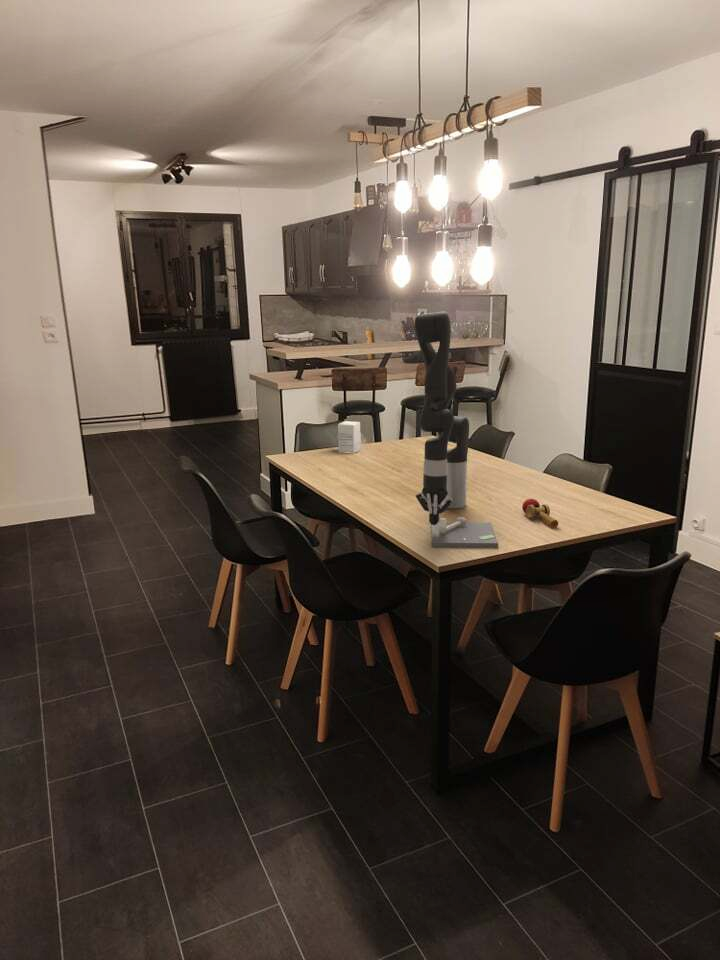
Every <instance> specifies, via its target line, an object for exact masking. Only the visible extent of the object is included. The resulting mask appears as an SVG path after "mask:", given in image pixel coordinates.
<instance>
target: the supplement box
mask: <svg viewBox="0 0 720 960" xmlns="http://www.w3.org/2000/svg"><path fill="white" fill-rule="evenodd" d="M361 433H362V432H361V422H360V421H351V420H349V421H348V420H346V421H345V420H344V421H342V422H340V423H337V438H338V445H337V446H338V453H339V452H350V453H355V452H357V451H359V450H361V451H362V443H361V442H362V439H361V438H362V436H361ZM359 452H360V451H359ZM357 453H358V452H357ZM355 454H356V453H355Z"/></svg>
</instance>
